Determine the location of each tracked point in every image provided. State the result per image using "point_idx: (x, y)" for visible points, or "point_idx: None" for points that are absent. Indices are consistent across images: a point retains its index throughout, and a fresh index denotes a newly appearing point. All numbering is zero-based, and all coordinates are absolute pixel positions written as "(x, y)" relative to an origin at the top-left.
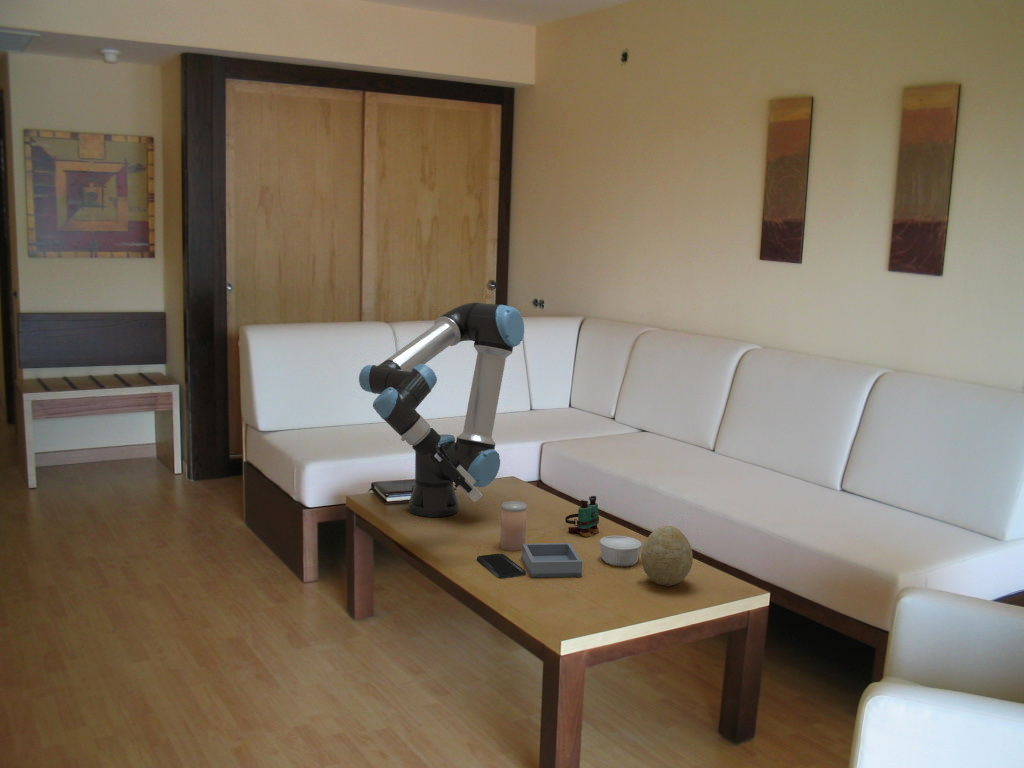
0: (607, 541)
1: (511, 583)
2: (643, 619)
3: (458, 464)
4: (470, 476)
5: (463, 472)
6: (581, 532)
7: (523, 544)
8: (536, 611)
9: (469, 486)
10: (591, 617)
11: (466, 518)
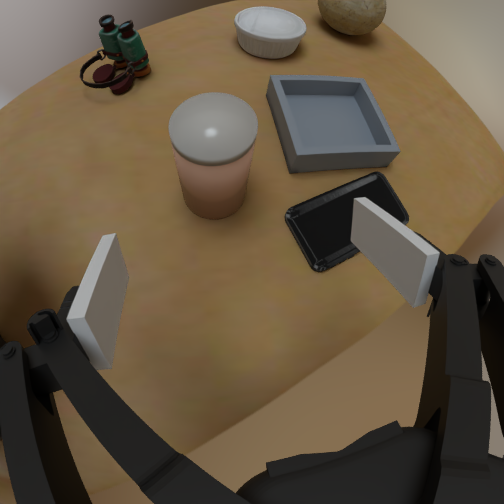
0: (272, 31)
1: (419, 202)
2: (445, 80)
3: (64, 330)
4: (107, 256)
5: (101, 296)
6: (143, 72)
7: (301, 153)
8: (481, 179)
9: (427, 240)
10: (466, 123)
11: (20, 307)
